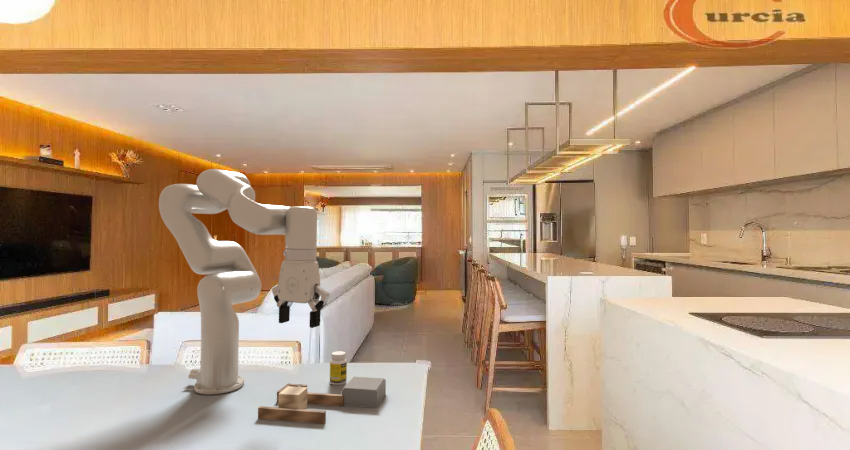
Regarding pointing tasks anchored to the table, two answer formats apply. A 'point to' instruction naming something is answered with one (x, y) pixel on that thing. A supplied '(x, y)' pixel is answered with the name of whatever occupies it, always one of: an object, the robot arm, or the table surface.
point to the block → (293, 398)
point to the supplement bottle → (338, 368)
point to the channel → (302, 414)
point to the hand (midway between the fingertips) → (299, 324)
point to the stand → (364, 392)
